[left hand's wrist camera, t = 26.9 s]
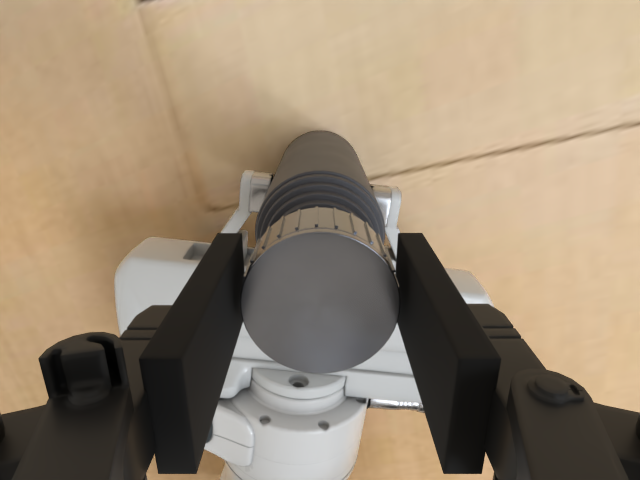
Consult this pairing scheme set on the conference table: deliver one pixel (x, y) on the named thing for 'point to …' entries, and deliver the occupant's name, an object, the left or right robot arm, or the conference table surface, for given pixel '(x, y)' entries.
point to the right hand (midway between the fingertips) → (321, 180)
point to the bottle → (320, 182)
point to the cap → (320, 291)
